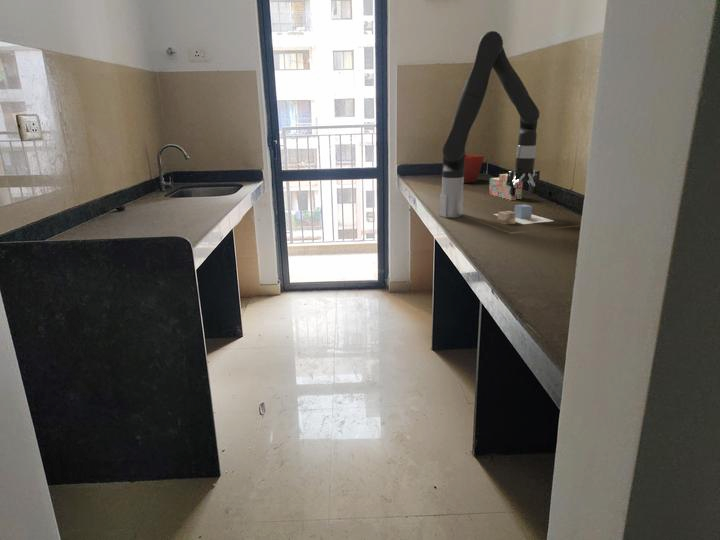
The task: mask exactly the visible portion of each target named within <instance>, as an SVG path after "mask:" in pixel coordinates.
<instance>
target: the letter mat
mask: <svg viewBox="0 0 720 540" xmlns="http://www.w3.org/2000/svg"><path fill="white" fill-rule="evenodd" d="M492 215H494V216H497V217H498V213H493V214H492ZM549 222H554V220H553V219H550V218H546V217H542V216H538V215H535V214H532V215H531V218H526V219H519V218H516V220H515V223H519V224H522V225H528V224H537V223H549Z"/></svg>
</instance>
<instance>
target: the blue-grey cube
mask: <svg viewBox="0 0 720 540" xmlns="http://www.w3.org/2000/svg"><path fill="white" fill-rule="evenodd" d="M532 211H533V206H532V205H529V204H526V203H525V204H516V205H515V204H514V210H513V212H514V213H516V218H519V219H526V218H531V215H533V214H532V213H533V212H532Z"/></svg>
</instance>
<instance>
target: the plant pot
mask: <svg viewBox="0 0 720 540" xmlns="http://www.w3.org/2000/svg"><path fill="white" fill-rule="evenodd" d="M484 158H485V155H478V154H466V153H465V162H464V183H463V184H467V183H476V182H477V181H478V178H479V176H480V173H481V172H480V171H481V169H482V167H483V166H482V165H483V162H484Z"/></svg>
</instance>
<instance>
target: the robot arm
mask: <svg viewBox="0 0 720 540" xmlns="http://www.w3.org/2000/svg"><path fill="white" fill-rule="evenodd" d="M503 45H504V41H503V37H502V36H501V34H500V33H499V32H497V31H494V30H493V31H492V30H491V31H487V32H486V33H484V34H483V35H482V36H481V38H480V39H479V42H478V45H477V52H476V55H475V59H474V62H473V66H472V69H471V71H470V72H469V75H468V77H467V79H466V81H465V84H464V86H463V89H462V91H461V95H460V97H459V100H458V103H457V107H456V110H455V111H456V112H455V115H454V120H453V123H452V127H451V129H450V131H449V133H448V135H447V138H446V141H445V142H444V144H443V146H442V171H441V173H442V174H441V175H442V176H441V193H440V194H439V214H438V215H439V216H441V217H443V218H460V217H463V208H464V207H463V205H464V184H465V183H464V162H465V154H466V144H467V140H468V137H469V133H470V130H472V129H471V128H472V127H473V124H474V123H475V121H476V119H477V117H478V114H479V112H480V110H481V107H482V105H483V102H484V100H485V96H486V94H487V90H488V86H489V80H490V75H491V72H492V69H493V70H494V72H495V73H496V76H497V77H498V79H499V81H500V83H501V85H502V87H503V89H504V91H505V93H506V94H507V96H508V98H509V100H510V102H511V104H513V106H514V107H515V109H516V111H517V113H518V115H519V133H518V140H517V148H516V152H515V153H516V155H515V163H514V164H515V165H514V167H515V171H512V170H510V171H509V170H508V172H507V174H508V177H507V184H506V185H508V186H510V195H511V196H515V192H516V188H515V187H516V186H517V184H518V183H520V181H521V182H523V183H524V182H527V183H528V185H529V186H528V190H527V195H528V196H533V194H534V192H535V186H538V185H540V174H541V172H540V170H537V169H534V168H535V163H536V161H535V160H536V152H537V151H536V149H537V148H536V145H537V138H538V137H537V127H538V120H539V119H540V110H539V108H538V106H537V105H536V104H535V102H534V100H533V99H532V98H531V96H530V94H529V92H528V90H527V87H526V86H525V84H524V83H523V81H522V79H521V77H520V76H519V75H518V73H517V71H515V69H514V67H513V66H512V64H511V63H510V61H509V58H508V57H507V54H506V52H505V49H504V46H503ZM514 175H515V178H514V179H513V177H514ZM532 176H533V177H532Z"/></svg>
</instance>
